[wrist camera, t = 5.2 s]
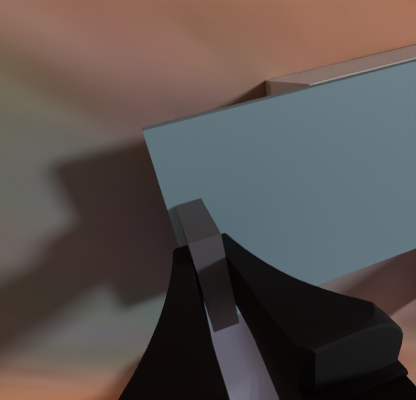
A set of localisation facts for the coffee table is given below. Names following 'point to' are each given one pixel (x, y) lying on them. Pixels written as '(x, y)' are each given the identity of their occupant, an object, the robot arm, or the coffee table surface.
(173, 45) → the coffee table surface
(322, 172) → the carton lid
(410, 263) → the coffee table surface
